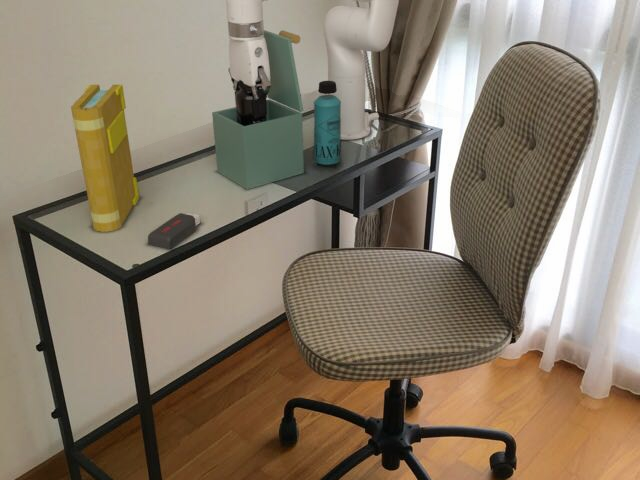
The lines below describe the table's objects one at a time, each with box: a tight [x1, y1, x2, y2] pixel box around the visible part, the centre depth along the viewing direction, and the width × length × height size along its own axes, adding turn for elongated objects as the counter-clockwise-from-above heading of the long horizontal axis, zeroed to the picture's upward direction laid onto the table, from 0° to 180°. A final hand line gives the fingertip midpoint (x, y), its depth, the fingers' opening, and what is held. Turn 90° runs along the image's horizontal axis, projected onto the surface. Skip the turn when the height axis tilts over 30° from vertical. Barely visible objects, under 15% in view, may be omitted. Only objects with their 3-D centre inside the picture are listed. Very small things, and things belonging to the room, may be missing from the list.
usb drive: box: [147, 212, 201, 250], centre depth 157 cm, size 5×12×3 cm, turn 154°
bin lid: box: [264, 29, 304, 113], centre depth 177 cm, size 16×14×6 cm
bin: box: [211, 98, 305, 190], centre depth 181 cm, size 16×14×14 cm
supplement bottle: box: [234, 80, 267, 126], centre depth 175 cm, size 7×7×12 cm
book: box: [70, 84, 140, 233], centre depth 160 cm, size 17×7×25 cm, turn 178°
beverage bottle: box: [313, 80, 342, 166], centre depth 182 cm, size 6×7×20 cm
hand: (251, 111), depth 176 cm, fingers closed on supplement bottle, 6 cm apart
